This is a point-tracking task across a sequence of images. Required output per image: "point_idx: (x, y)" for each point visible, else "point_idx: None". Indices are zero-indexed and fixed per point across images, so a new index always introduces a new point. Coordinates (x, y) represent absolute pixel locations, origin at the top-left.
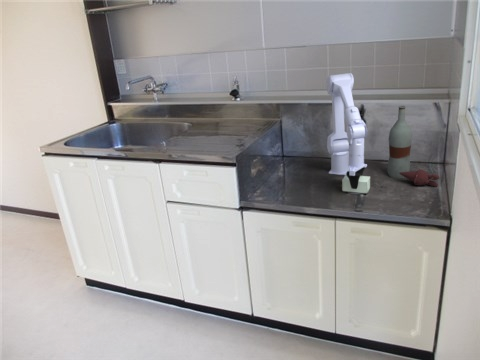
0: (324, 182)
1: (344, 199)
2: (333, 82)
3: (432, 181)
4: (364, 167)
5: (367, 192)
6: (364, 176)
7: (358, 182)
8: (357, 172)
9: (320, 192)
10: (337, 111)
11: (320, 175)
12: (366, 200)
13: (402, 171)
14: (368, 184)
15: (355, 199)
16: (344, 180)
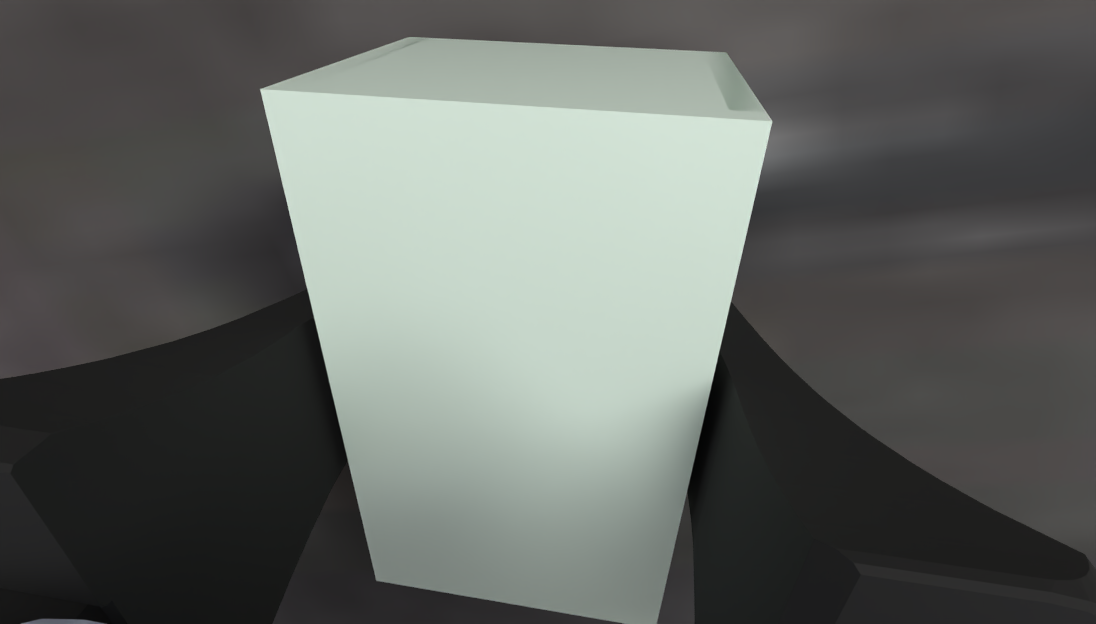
0: (421, 593)
1: (920, 392)
2: None
3: None
4: (57, 460)
5: (683, 50)
6: (325, 256)
7: (712, 353)
8: (285, 469)
9: (693, 617)
10: None
11: (275, 620)
12: (1014, 12)
13: None
14: (560, 72)
15: (936, 237)
16: (659, 595)
